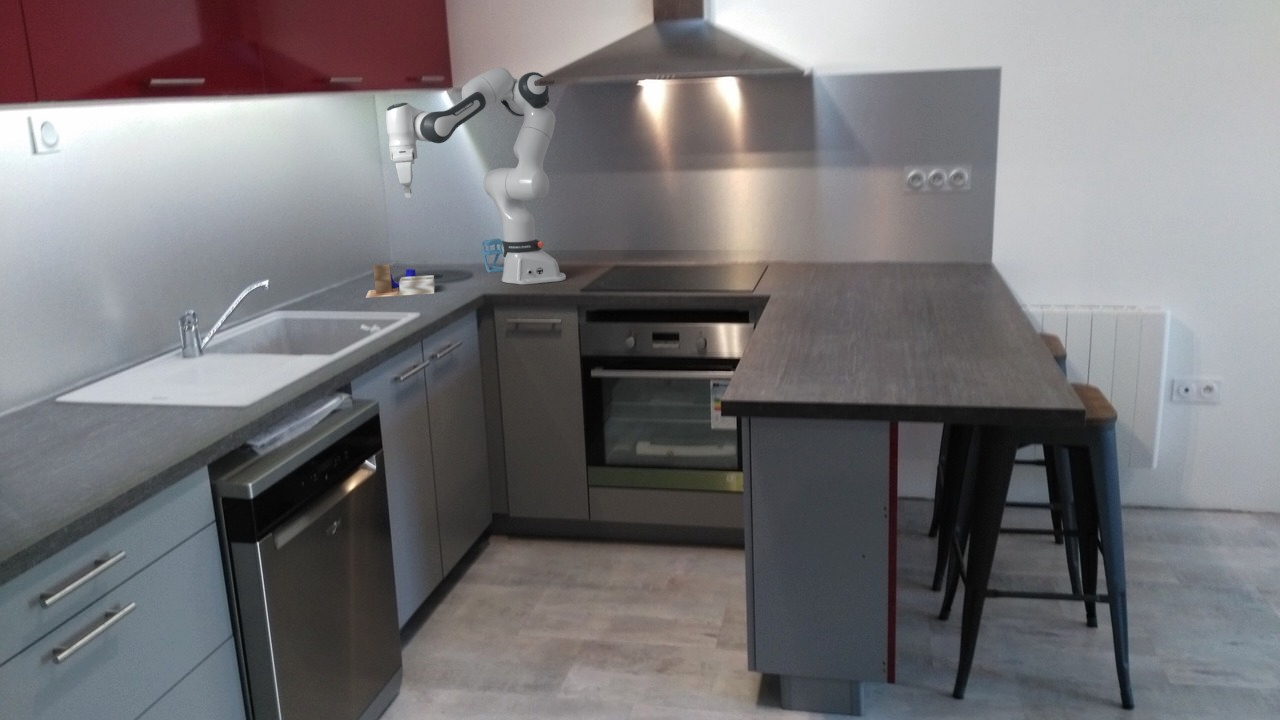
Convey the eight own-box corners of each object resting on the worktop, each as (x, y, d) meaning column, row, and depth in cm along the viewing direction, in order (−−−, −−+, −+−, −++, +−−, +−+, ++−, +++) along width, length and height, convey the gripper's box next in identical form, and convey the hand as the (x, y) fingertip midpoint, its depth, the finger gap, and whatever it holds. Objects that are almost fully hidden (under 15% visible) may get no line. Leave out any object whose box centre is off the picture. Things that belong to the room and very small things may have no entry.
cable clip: (407, 285, 373) (406, 268, 371) (416, 286, 370) (415, 269, 368) (381, 291, 363) (379, 274, 362) (390, 292, 361) (388, 275, 359)
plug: (392, 290, 356) (389, 264, 354) (391, 292, 353) (389, 265, 350) (376, 291, 355) (373, 265, 353) (375, 293, 352) (373, 266, 350)
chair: (499, 267, 403) (496, 236, 400) (507, 270, 396) (505, 238, 393) (480, 269, 399) (477, 238, 396) (488, 272, 392) (486, 240, 389)
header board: (435, 289, 363) (433, 274, 362) (434, 296, 350) (433, 281, 349) (369, 293, 360) (367, 278, 358) (365, 300, 347) (364, 285, 346)
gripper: (394, 152, 360) (400, 193, 364) (392, 157, 341) (397, 200, 345) (413, 150, 361) (418, 191, 365) (412, 155, 342) (417, 198, 346)
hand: (408, 195), depth 355 cm, fingers open, 8 cm apart
